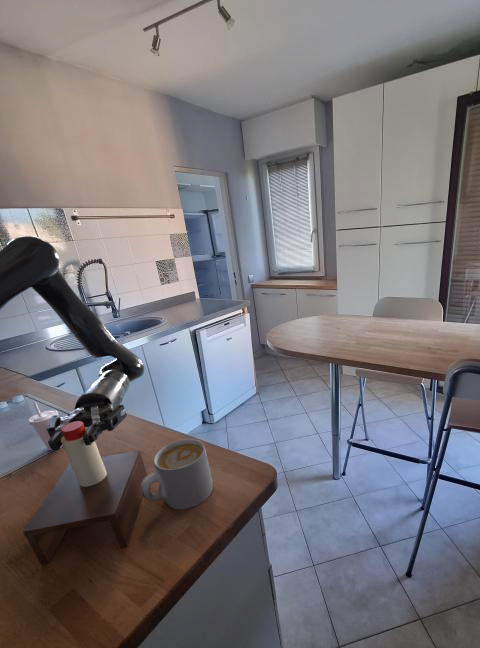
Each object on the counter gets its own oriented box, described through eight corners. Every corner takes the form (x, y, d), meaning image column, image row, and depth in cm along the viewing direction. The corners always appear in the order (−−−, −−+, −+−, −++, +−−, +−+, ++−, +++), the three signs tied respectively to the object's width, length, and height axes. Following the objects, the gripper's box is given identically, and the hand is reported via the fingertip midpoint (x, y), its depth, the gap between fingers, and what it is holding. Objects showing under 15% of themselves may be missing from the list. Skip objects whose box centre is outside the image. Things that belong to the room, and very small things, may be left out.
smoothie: (36, 451, 89) (15, 405, 83) (60, 437, 94) (41, 394, 89) (52, 455, 86) (31, 409, 81) (75, 441, 92) (57, 396, 86)
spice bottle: (74, 489, 63) (51, 435, 58) (84, 472, 67) (63, 421, 62) (102, 483, 63) (81, 431, 59) (110, 467, 68) (91, 417, 63)
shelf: (41, 565, 57) (22, 531, 54) (82, 491, 74) (69, 462, 70) (127, 546, 60) (114, 513, 56) (148, 478, 76) (139, 450, 73)
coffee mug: (206, 469, 77) (197, 433, 73) (219, 495, 69) (210, 456, 65) (144, 493, 72) (132, 455, 68) (151, 525, 64) (137, 485, 60)
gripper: (61, 389, 72) (16, 433, 56) (131, 379, 74) (106, 419, 58) (73, 419, 75) (33, 468, 59) (140, 408, 77) (119, 453, 61)
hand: (70, 443), depth 59 cm, fingers closed on spice bottle, 4 cm apart
